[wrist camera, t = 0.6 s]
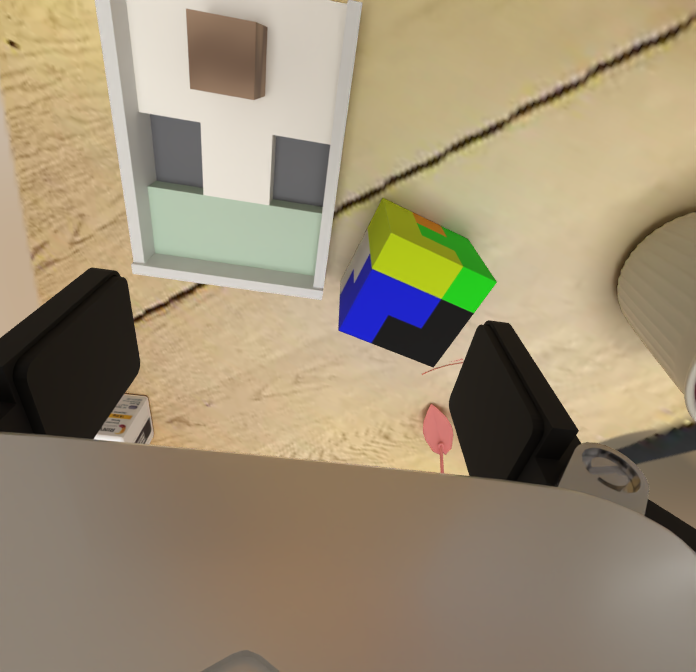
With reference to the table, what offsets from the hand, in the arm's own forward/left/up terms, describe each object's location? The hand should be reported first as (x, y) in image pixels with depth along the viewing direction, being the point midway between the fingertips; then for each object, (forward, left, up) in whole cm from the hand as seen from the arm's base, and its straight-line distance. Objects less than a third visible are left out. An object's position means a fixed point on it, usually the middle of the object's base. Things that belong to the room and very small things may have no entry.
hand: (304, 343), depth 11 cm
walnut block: (-6, -8, -29) cm, 31 cm away
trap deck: (+1, -8, -32) cm, 33 cm away
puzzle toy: (+10, +9, -32) cm, 34 cm away
